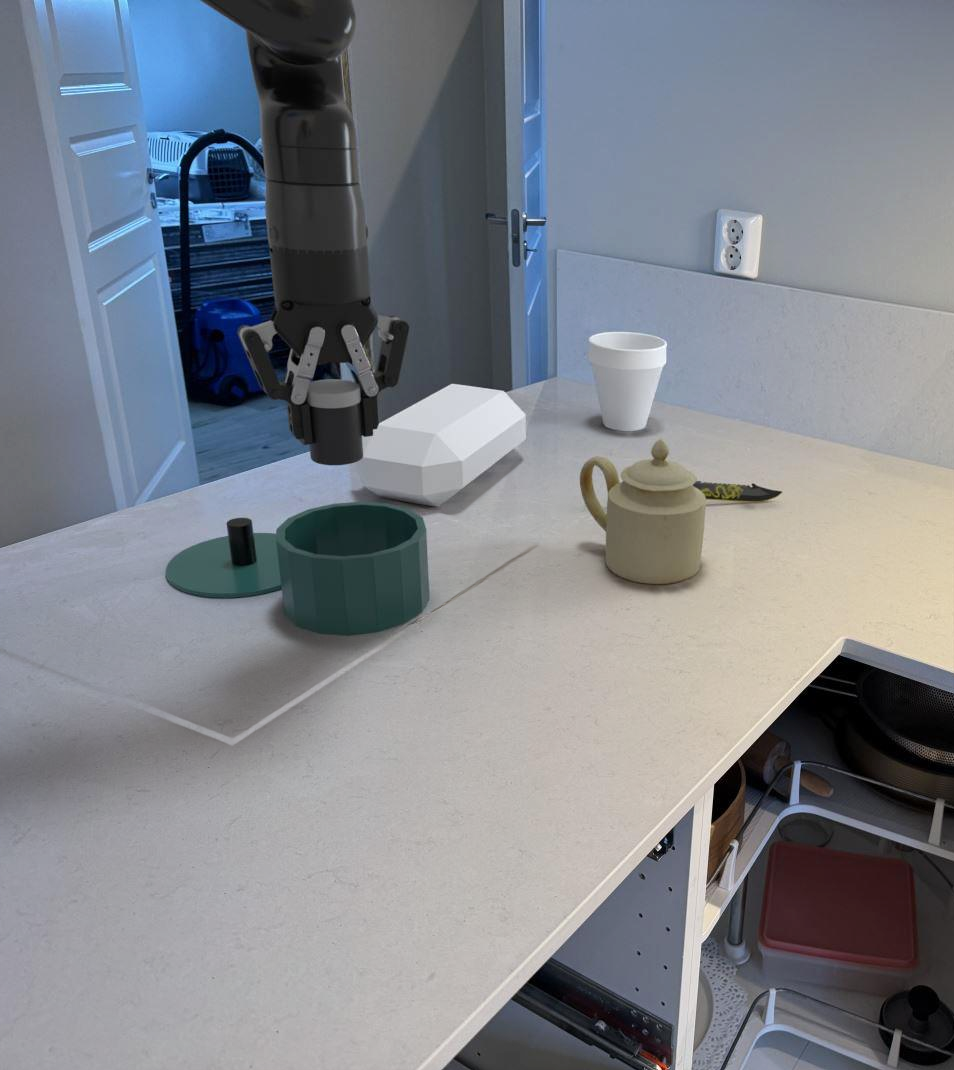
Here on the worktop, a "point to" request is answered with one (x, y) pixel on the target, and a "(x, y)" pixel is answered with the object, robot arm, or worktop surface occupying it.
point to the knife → (735, 492)
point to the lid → (228, 564)
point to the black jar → (335, 422)
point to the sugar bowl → (649, 518)
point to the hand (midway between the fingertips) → (335, 437)
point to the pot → (353, 567)
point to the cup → (626, 376)
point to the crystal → (440, 444)
